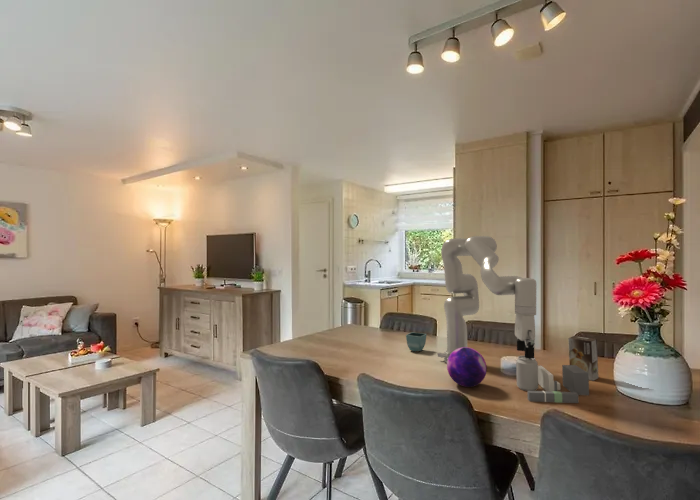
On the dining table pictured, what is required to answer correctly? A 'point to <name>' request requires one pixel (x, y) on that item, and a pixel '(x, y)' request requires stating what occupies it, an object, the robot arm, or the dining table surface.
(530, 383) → the can
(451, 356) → the decorative orb
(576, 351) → the coffee box
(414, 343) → the flower pot
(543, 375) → the plate
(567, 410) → the dining table surface
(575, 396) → the frame
